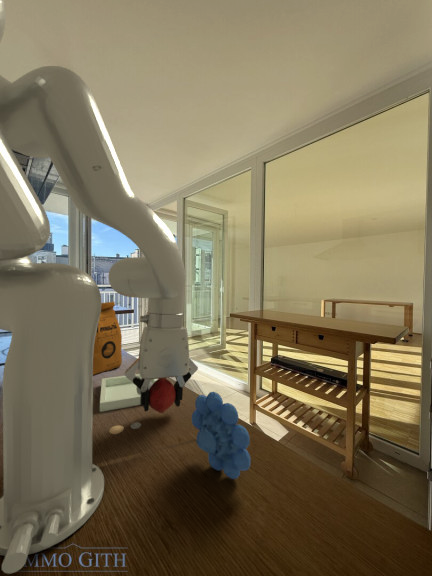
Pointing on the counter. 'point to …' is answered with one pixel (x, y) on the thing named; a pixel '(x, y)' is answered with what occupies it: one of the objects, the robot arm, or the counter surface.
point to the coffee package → (107, 341)
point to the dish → (119, 393)
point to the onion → (161, 395)
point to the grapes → (221, 435)
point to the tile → (120, 428)
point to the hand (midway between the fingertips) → (161, 405)
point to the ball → (140, 390)
